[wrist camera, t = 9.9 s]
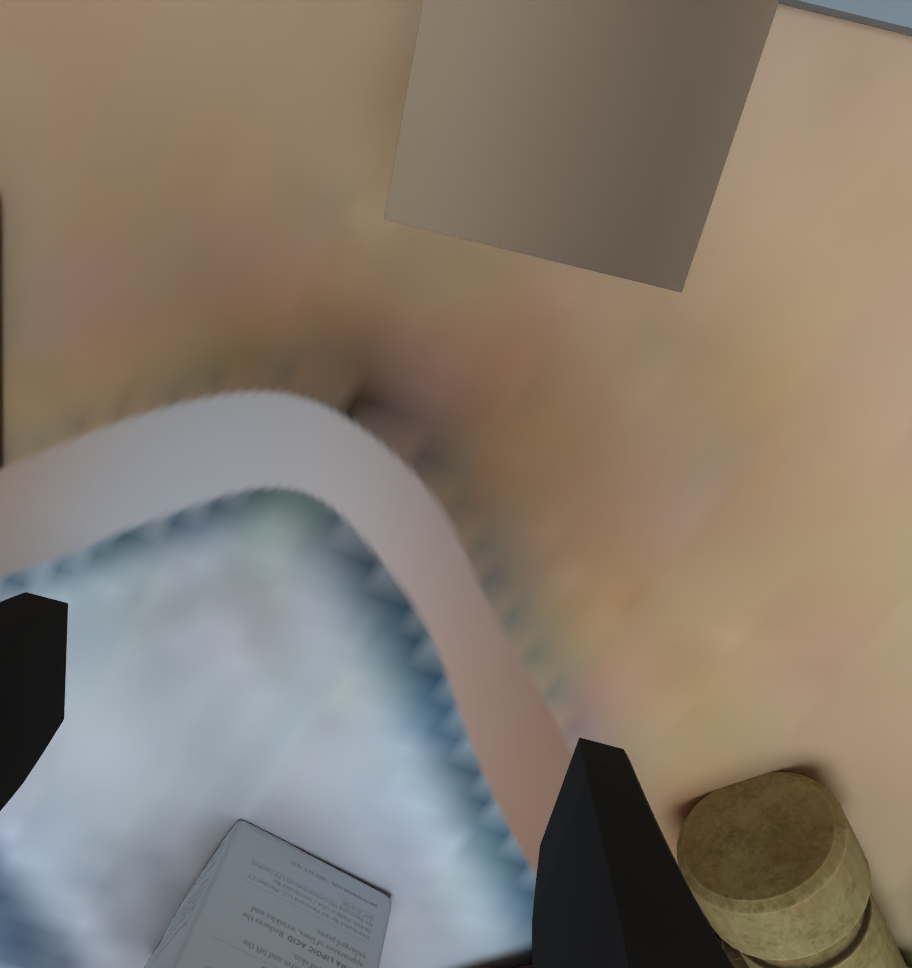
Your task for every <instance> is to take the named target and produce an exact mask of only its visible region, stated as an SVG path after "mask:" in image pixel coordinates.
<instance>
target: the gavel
mask: <svg viewBox="0 0 912 968" xmlns="http://www.w3.org/2000/svg"><path fill="white" fill-rule="evenodd" d="M677 860H678V865H679V868H680V870H681V872H682V874H683V876H684V878H685V880H686V882H687V884H688V886H689V888H690V890H691V892H692V894H693V896H694V898H695V899H696V901H697V903H698V904H699V906H700V908H701V910H702V911H703V913H704V915H705V916H706V918H707V920H708V921H709V923H710V925H711V926H712V928H713V929H714V930H715V931H716V933H717V934H718V935H719V936H720V937H719V936H718V935H717V934H716V933H714V934H715V935H716V937H717V939H718V941H719V942H720V944H721V946H722V947H723V949H724V951H725V953H726V954H727V956H728V958H729V960H730V961H731V963H732V964H733V966H734V968H909V967H908V966H906V964H905V962H904V960H903V958H902V956H901V954H900V952H899V950H898V947H897V945H896V943H895V941H894V939H893V937H892V935H891V933H890V931H889V929H888V927H887V925H886V923H885V921H884V919H883V917H882V915H881V913H880V911H879V909H878V907H877V905H876V903H875V901H874V899H873V897H872V895H871V893H870V886H871V875H870V870H869V865H868V861H867V859H866V857H865V855H864V853H863V850H862V848H861V846H860V844H859V842H858V840H857V838H856V836H855V834H854V832H853V830H852V828H851V826H850V824H849V822H848V820H847V818H846V816H845V814H844V811H843V809H842V807H841V805H840V803H839V802H838V801H837V799H836V798H835V797H834V796H833V794H832V793H831V792H830V791H829V790H827V789H826V788H825V787H824V786H822V785H821V784H820V783H818V782H816V781H814V780H812V779H810V778H808V777H806V776H803V775H800V774H796V773H793V772H771V773H766V774H763V775H760V776H757V777H753V778H750V779H747V780H744V781H741V782H738V783H735V784H732V785H729V786H726V787H723V788H720V789H717V790H714V791H713V792H711V793H710V794H708V795H706V796H705V797H704V798H702V799H701V800H700V801H699V802H698V803H697V804H696V805H695V806H694V808H693V809H692V810H691V812H690V813H689V815H688V816H687V817H686V819H685V822H684V824H683V826H682V828H681V830H680V834H679V838H678V842H677ZM516 968H532V964H530V965H526V966H521V967H516Z"/></svg>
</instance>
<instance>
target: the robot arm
mask: <svg viewBox="0 0 912 968" xmlns="http://www.w3.org/2000/svg"><path fill="white" fill-rule="evenodd" d="M67 615H68V603H64V602H61V601H57V600H53V599H49V598H45V597H42V596H38V595H34V594H30V593H26V592H25V593H22V594H20V595H17V596H14V597H12V598H9V599H7V600H4V601H2V602H0V811H1V809H2V808H3V807H4V806H5V805H6V803H7V802H8V801H9V800H10V799H11V797H12V796H13V795H14V794H15V792H16V791H17V790H18V789H19V787H20V786H21V785H22V784H23V782H24V781H25V779H26V778H27V776H28V775H29V773H30V772H31V770H32V769H33V767H34V766H35V764H36V763H37V761H38V760H39V758H40V757H41V755H42V754H43V752H44V750H45V749H46V747H47V746H48V744H49V742H50V741H51V739H52V738H53V736H54V734H55V733H56V731H57V730H58V728H59V726H60V725H61V723H62V722H63V720H64V704H65V674H66V645H67ZM532 968H734V966H733V964H732V963H731V961H730V960H729V958H728V956H727V954H726V953H725V951H724V949H723V947H722V946H721V944H720V942H719V941H718V939H717V937H716V935H715V934H714V932H713V930H712V928H711V927H710V925H709V923H708V921H707V920H706V918H705V916H704V914H703V912H702V910H701V909H700V907H699V905H698V903H697V901H696V899H695V898H694V896H693V894H692V892H691V890H690V888H689V886H688V884H687V882H686V880H685V878H684V876H683V874H682V872H681V870H680V868H679V866H678V864H677V862H676V860H675V858H674V857H673V855H672V853H671V850H670V848H669V846H668V844H667V842H666V840H665V838H664V836H663V834H662V832H661V830H660V827H659V825H658V823H657V821H656V819H655V817H654V814H653V812H652V810H651V808H650V806H649V804H648V801H647V799H646V797H645V795H644V792H643V790H642V788H641V785H640V783H639V781H638V779H637V776H636V774H635V772H634V769H633V767H632V765H631V762H630V760H629V758H628V756H627V754H626V753H625V751H624V749H621V748H617V747H613V746H609V745H605V744H602V743H598V742H594V741H590V740H586V739H582V738H579V740H578V743H577V746H576V748H575V751H574V754H573V757H572V760H571V762H570V765H569V768H568V770H567V773H566V776H565V779H564V781H563V784H562V787H561V790H560V792H559V796H558V798H557V801H556V804H555V806H554V809H553V812H552V814H551V817H550V820H549V823H548V825H547V828H546V831H545V834H544V836H543V839H542V842H541V845H540V851H539V861H538V869H537V878H536V887H535V897H534V907H533V918H532Z"/></svg>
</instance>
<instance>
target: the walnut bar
mask: <svg viewBox="0 0 912 968" xmlns="http://www.w3.org/2000/svg"><path fill="white" fill-rule="evenodd" d="M778 3H779V0H423V3H422V9H421V15H420V20H419V26H418V31H417V37H416V42H415V48H414V54H413V59H412V65H411V70H410V76H409V81H408V87H407V93H406V98H405V104H404V109H403V115H402V120H401V126H400V132H399V137H398V143H397V148H396V154H395V159H394V165H393V171H392V176H391V182H390V187H389V193H388V198H387V204H386V210H385V215H384V220H388V221H392V222H396V223H400V224H405V225H409V226H413V227H417V228H421V229H425V230H429V231H433V232H437V233H441V234H445V235H449V236H453V237H458V238H462V239H466V240H470V241H474V242H478V243H482V244H486V245H490V246H494V247H498V248H502V249H506V250H511V251H515V252H519V253H523V254H527V255H531V256H535V257H539V258H543V259H547V260H551V261H555V262H559V263H564V264H568V265H572V266H576V267H580V268H584V269H588V270H592V271H596V272H600V273H604V274H608V275H612V276H617V277H621V278H625V279H629V280H633V281H637V282H641V283H645V284H649V285H653V286H657V287H661V288H665V289H670V290H674V291H678V292H682V290H683V287H684V284H685V281H686V278H687V275H688V272H689V269H690V266H691V263H692V260H693V257H694V254H695V251H696V248H697V245H698V242H699V239H700V236H701V233H702V230H703V227H704V224H705V221H706V218H707V215H708V212H709V209H710V206H711V203H712V200H713V197H714V194H715V191H716V188H717V185H718V182H719V179H720V176H721V173H722V170H723V167H724V164H725V161H726V158H727V155H728V152H729V149H730V146H731V143H732V140H733V137H734V134H735V131H736V128H737V125H738V123H739V120H740V117H741V114H742V111H743V108H744V105H745V102H746V99H747V96H748V93H749V90H750V87H751V84H752V81H753V78H754V75H755V72H756V69H757V66H758V63H759V60H760V57H761V54H762V51H763V48H764V45H765V42H766V39H767V36H768V33H769V30H770V27H771V24H772V21H773V18H774V15H775V12H776V9H777V6H778Z"/></svg>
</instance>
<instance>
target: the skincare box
mask: <svg viewBox="0 0 912 968" xmlns="http://www.w3.org/2000/svg"><path fill="white" fill-rule="evenodd" d="M391 903H392V902H391V900H390V899H389V898H388V897H387V896H386V895H385V894H383V893H381V892H379V891H378V890H376V889H374V888H372V887H370V886H368V885H367V884H365V883H363V882H361V881H359V880H357V879H355V878H353V877H351V876H349V875H347V874H345V873H343V872H341V871H339V870H337V869H336V868H334V867H332V866H330V865H328V864H326V863H324V862H322V861H320V860H319V859H317V858H315V857H313V856H311V855H309V854H307V853H305V852H303V851H301V850H299V849H298V848H296V847H294V846H292V845H290V844H289V843H287V842H285V841H283V840H281V839H279V838H277V837H275V836H273V835H271V834H269V833H267V832H265V831H263V830H261V829H259V828H257V827H255V826H253V825H251V824H249V823H247V822H245V821H238V822H237V823H236V824H235V825H234V826H233V828H232V829H231V830H230V831H229V833H228V834H227V835H226V837H225V838H224V840H223V841H222V843H221V844H220V846H219V847H218V849H217V850H216V852H215V853H214V855H213V856H212V858H211V859H210V861H209V862H208V864H207V865H206V867H205V868H204V870H203V871H202V873H201V874H200V876H199V877H198V879H197V881H196V882H195V884H194V885H193V887H192V888H191V890H190V891H189V893H188V894H187V896H186V898H185V899H184V901H183V902H182V904H181V906H180V907H179V909H178V911H177V913H176V914H175V916H174V918H173V919H172V921H171V923H170V925H169V927H168V929H167V930H166V933H165V935H164V937H163V939H162V941H161V943H160V944H159V945H158V947H157V948H156V950H155V951H154V952H153V954H152V955H151V956H150V958H149V960H148V961H147V963H146V965H145V967H144V968H379V964H380V959H381V954H382V949H383V944H384V940H385V935H386V930H387V925H388V920H389V915H390V910H391Z"/></svg>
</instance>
